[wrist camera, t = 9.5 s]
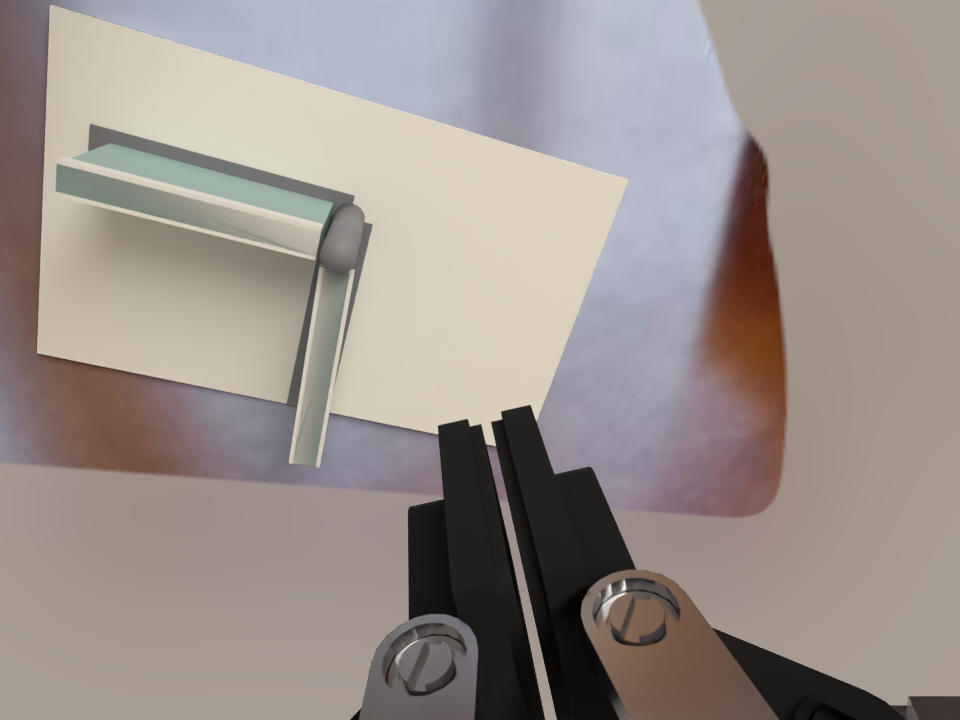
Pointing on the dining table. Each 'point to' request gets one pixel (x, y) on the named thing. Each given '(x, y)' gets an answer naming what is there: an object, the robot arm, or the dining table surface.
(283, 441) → the dining table surface
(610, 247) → the dining table surface
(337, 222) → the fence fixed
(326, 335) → the pale open channel
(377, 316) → the card
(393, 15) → the dining table surface
